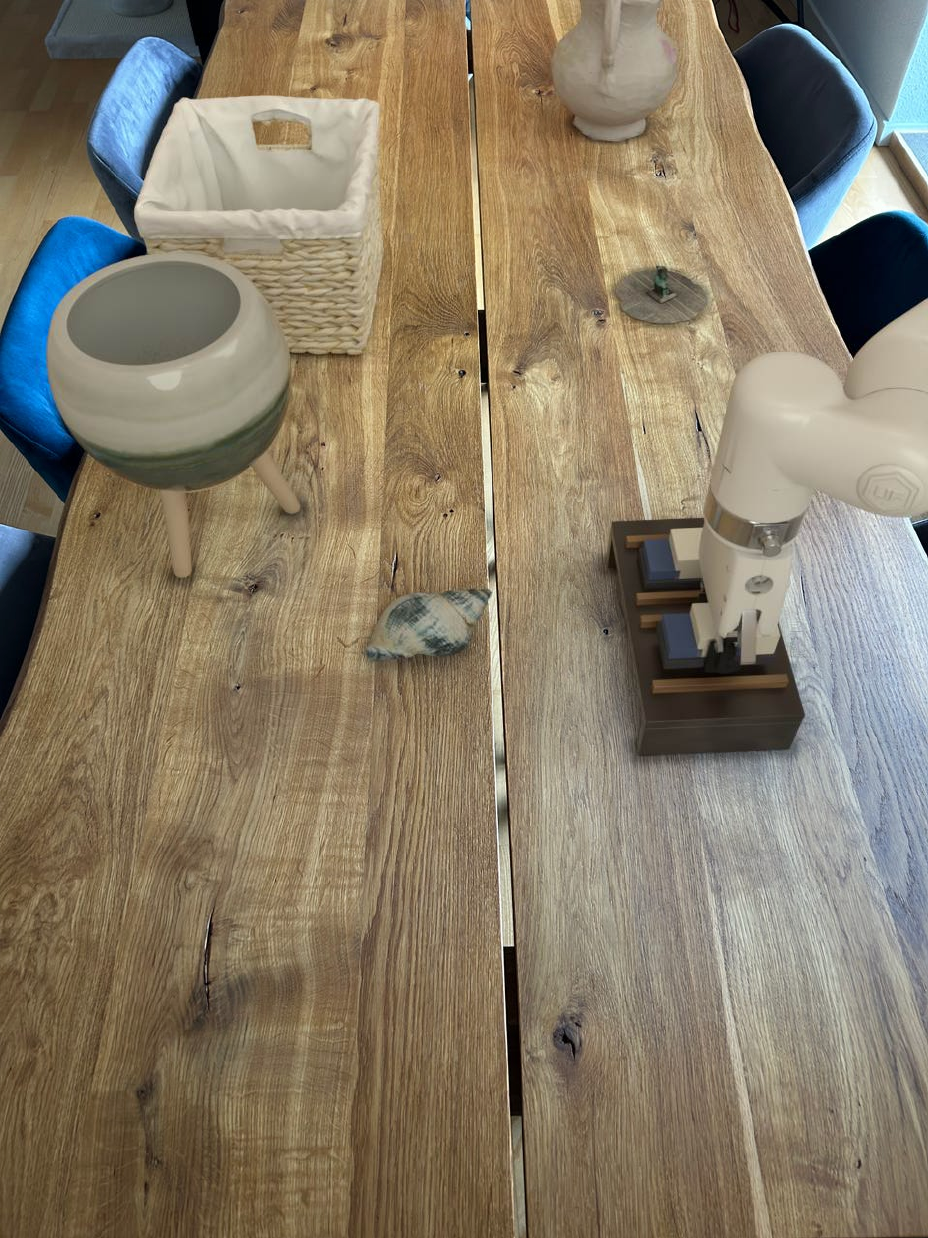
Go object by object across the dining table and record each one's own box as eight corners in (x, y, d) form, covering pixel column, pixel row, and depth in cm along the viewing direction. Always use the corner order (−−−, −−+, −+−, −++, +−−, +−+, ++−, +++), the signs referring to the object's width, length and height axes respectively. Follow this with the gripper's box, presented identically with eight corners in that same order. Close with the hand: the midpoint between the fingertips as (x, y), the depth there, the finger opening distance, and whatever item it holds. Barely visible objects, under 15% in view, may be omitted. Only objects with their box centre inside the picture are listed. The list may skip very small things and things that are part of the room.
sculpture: (631, 264, 141) (674, 232, 135) (672, 314, 144) (716, 284, 138) (602, 307, 134) (646, 275, 128) (646, 359, 137) (691, 329, 131)
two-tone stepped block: (738, 551, 100) (746, 523, 97) (747, 586, 98) (756, 559, 95) (637, 555, 100) (642, 528, 97) (644, 590, 98) (649, 563, 94)
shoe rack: (736, 553, 108) (750, 508, 103) (789, 749, 94) (808, 709, 88) (606, 559, 108) (612, 514, 102) (638, 756, 93) (647, 716, 88)
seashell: (376, 629, 105) (492, 636, 104) (362, 665, 98) (485, 674, 97) (374, 573, 102) (493, 580, 101) (359, 607, 95) (486, 615, 94)
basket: (379, 367, 128) (362, 207, 111) (170, 366, 129) (121, 208, 112) (395, 246, 145) (382, 90, 127) (209, 245, 146) (172, 91, 128)
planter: (147, 450, 120) (69, 237, 98) (332, 454, 119) (295, 240, 97) (95, 596, 107) (-9, 387, 84) (303, 602, 105) (253, 392, 83)
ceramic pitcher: (673, 166, 158) (714, -9, 139) (549, 160, 157) (572, -17, 138) (655, 100, 172) (689, -69, 152) (540, 94, 170) (560, -76, 151)
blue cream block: (763, 624, 93) (773, 596, 90) (775, 664, 91) (785, 637, 87) (655, 629, 93) (661, 602, 90) (663, 669, 91) (669, 643, 87)
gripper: (833, 587, 72) (778, 723, 87) (779, 427, 83) (737, 572, 97) (728, 592, 72) (690, 727, 87) (687, 431, 83) (659, 576, 97)
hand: (715, 644), depth 92 cm, fingers closed on blue cream block, 4 cm apart
